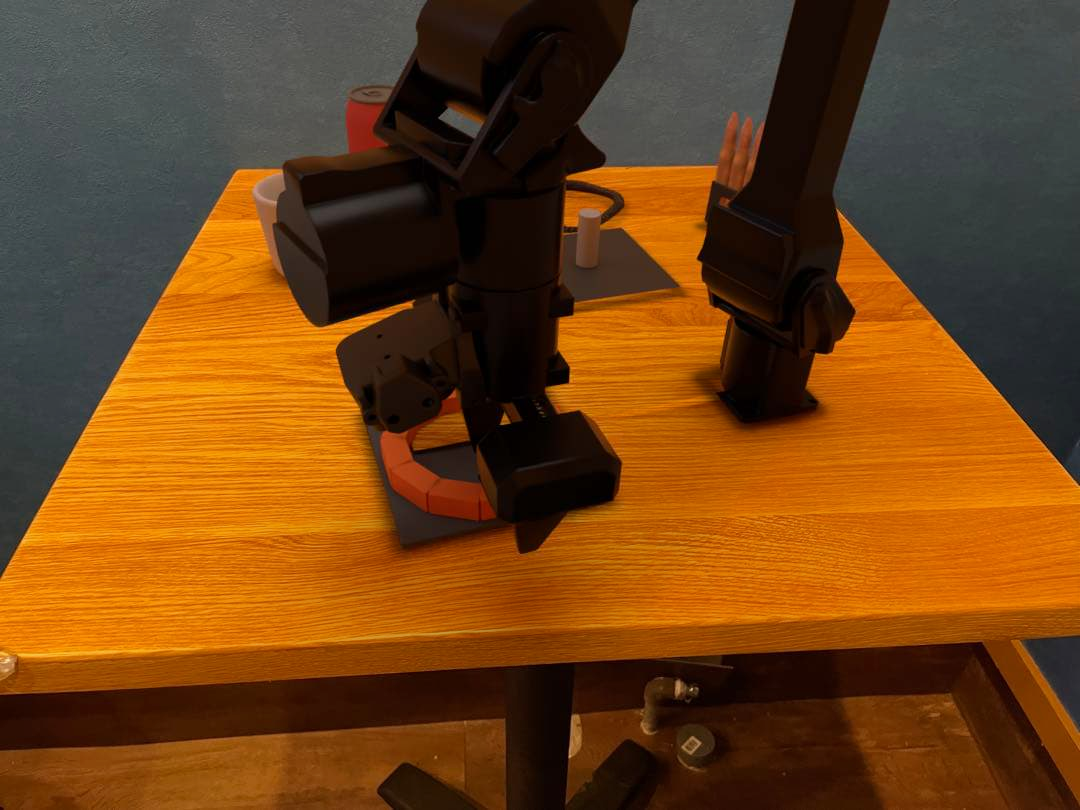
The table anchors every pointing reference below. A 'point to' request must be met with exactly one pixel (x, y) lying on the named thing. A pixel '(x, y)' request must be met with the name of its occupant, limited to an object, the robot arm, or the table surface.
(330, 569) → the table surface
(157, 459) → the table surface
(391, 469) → the ring
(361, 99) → the beer can
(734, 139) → the ammunition clip
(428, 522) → the mat
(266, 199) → the cup
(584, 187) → the curled ridged horns
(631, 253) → the stake
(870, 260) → the table surface
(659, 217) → the table surface
